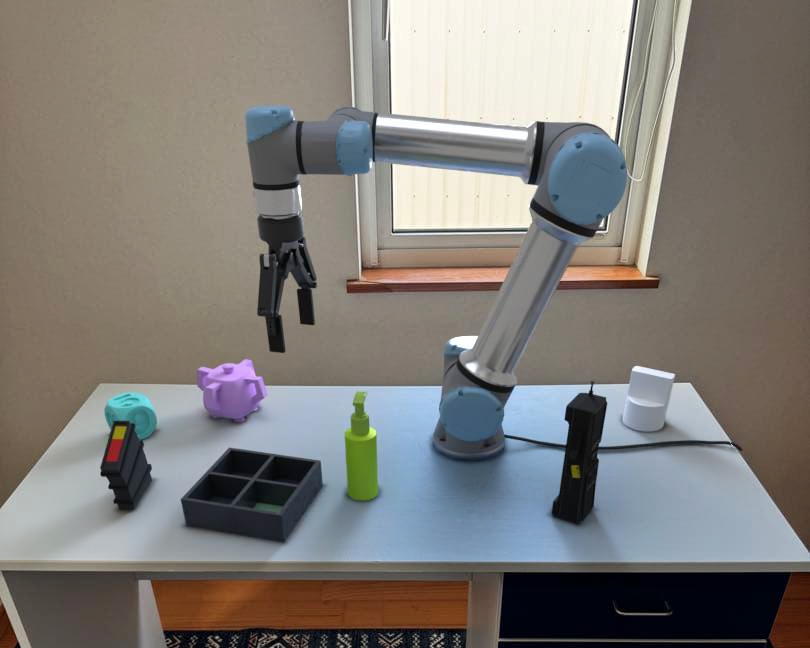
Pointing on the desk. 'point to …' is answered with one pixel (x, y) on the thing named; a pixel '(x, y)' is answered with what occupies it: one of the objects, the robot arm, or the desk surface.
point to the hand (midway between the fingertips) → (293, 337)
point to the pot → (231, 390)
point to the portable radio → (580, 457)
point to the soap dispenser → (361, 453)
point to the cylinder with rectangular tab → (647, 399)
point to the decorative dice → (132, 412)
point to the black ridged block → (126, 465)
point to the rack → (253, 494)
